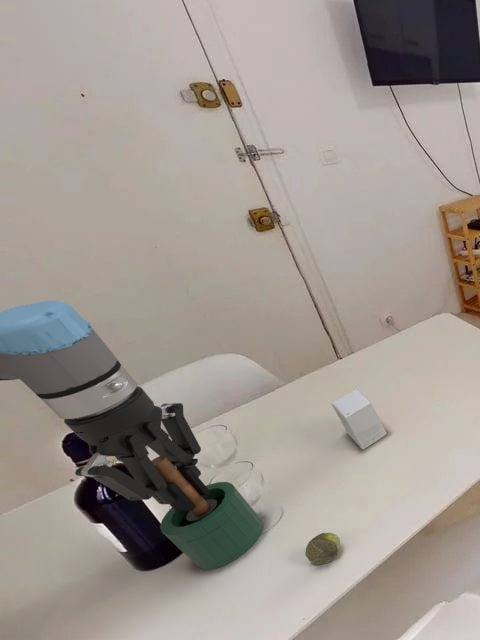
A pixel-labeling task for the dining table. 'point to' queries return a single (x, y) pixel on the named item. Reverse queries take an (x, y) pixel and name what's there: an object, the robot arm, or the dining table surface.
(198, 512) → the brown and grey pestle
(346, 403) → the small box
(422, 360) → the dining table surface
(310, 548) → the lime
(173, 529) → the green tube ring
